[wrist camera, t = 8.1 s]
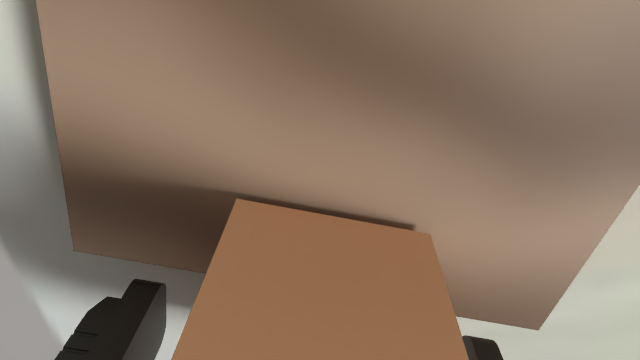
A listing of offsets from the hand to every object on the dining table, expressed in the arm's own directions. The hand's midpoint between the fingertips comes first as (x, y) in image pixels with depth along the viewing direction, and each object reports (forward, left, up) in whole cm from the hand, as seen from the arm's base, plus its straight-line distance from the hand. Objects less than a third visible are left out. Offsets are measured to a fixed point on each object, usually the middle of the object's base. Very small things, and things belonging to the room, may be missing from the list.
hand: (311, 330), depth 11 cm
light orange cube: (0, 0, -1) cm, 1 cm away
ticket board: (-15, 0, -2) cm, 15 cm away
